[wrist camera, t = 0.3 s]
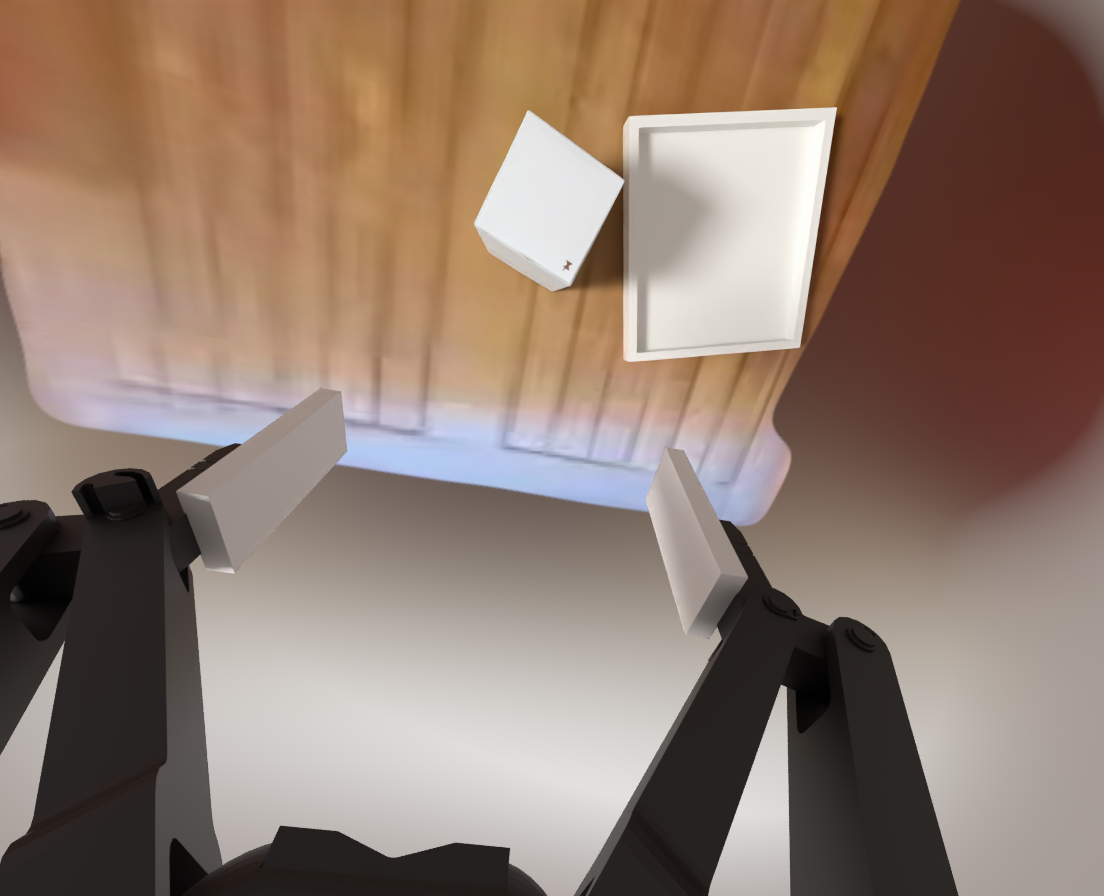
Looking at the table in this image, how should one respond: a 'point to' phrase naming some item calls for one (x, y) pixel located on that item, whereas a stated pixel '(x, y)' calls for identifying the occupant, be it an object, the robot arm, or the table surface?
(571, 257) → the supplement box
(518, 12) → the table surface
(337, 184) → the table surface
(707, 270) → the white tray
